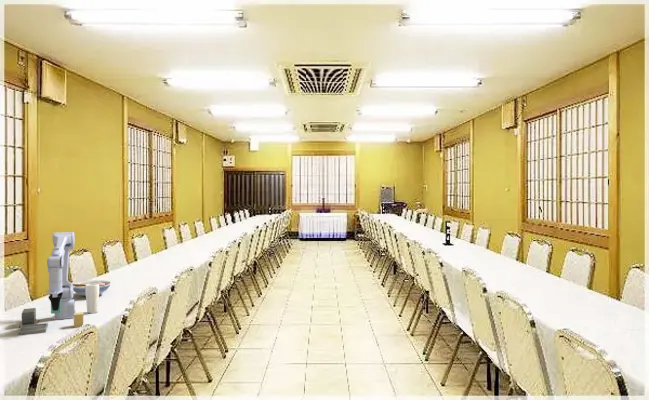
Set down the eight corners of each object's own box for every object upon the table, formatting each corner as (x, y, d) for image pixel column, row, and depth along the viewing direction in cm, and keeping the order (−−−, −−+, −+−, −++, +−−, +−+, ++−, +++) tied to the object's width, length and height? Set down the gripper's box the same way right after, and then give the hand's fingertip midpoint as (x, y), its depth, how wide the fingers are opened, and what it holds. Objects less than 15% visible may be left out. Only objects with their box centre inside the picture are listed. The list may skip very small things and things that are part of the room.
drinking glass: (101, 310, 268) (101, 283, 267) (96, 314, 261) (96, 285, 261) (88, 310, 268) (88, 283, 267) (83, 314, 261) (83, 285, 260)
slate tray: (47, 326, 238) (47, 322, 238) (45, 332, 228) (45, 329, 228) (21, 328, 234) (21, 325, 234) (17, 335, 224) (17, 331, 224)
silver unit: (38, 321, 247) (38, 307, 247) (36, 326, 238) (36, 311, 237) (22, 322, 244) (21, 308, 244) (19, 328, 235) (19, 313, 235)
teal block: (60, 310, 240) (60, 298, 240) (60, 312, 236) (60, 300, 236) (51, 311, 238) (51, 299, 238) (50, 313, 235) (50, 301, 234)
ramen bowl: (120, 292, 314) (119, 279, 314) (100, 300, 291) (100, 286, 291) (82, 291, 316) (82, 278, 316) (60, 299, 294) (60, 285, 293)
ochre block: (83, 324, 242) (83, 312, 242) (83, 326, 238) (83, 314, 238) (74, 325, 240) (74, 313, 240) (73, 327, 236) (73, 315, 236)
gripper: (47, 279, 242) (47, 306, 242) (44, 284, 229) (45, 313, 229) (63, 278, 245) (63, 305, 245) (62, 283, 232) (62, 312, 232)
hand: (55, 309), depth 237 cm, fingers closed on teal block, 4 cm apart
